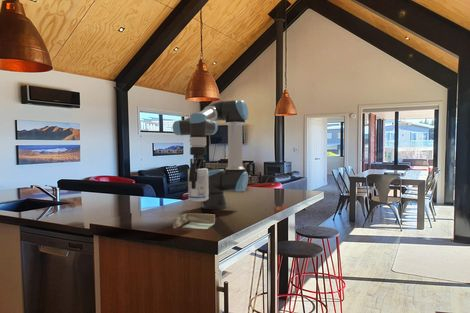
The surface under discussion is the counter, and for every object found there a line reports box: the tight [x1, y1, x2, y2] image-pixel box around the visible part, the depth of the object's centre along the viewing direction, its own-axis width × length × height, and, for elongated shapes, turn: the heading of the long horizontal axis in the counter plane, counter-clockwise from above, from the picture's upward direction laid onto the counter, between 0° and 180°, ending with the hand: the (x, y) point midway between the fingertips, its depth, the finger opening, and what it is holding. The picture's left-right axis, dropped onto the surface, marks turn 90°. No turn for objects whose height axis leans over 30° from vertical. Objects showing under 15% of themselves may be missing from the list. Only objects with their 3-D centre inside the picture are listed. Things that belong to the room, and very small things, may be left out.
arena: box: [172, 212, 216, 230], centre depth 156 cm, size 16×16×4 cm
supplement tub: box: [187, 167, 209, 202], centre depth 155 cm, size 10×10×15 cm
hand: (198, 194), depth 155 cm, fingers closed on supplement tub, 9 cm apart
